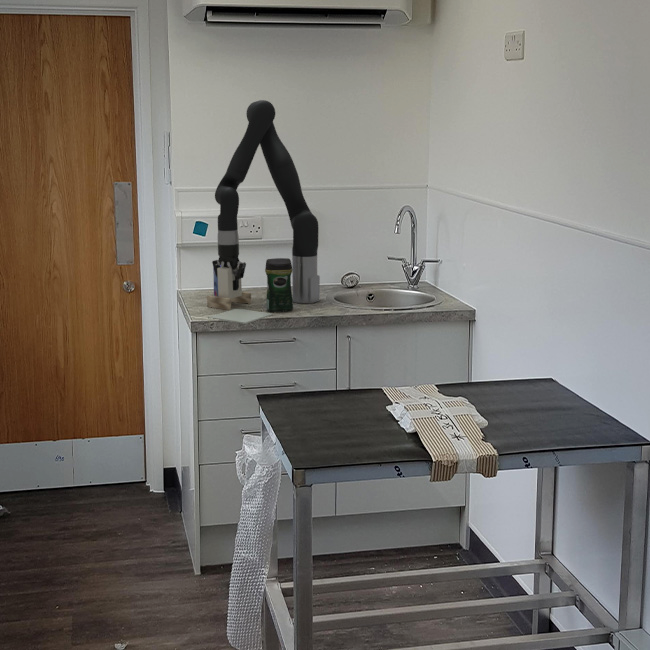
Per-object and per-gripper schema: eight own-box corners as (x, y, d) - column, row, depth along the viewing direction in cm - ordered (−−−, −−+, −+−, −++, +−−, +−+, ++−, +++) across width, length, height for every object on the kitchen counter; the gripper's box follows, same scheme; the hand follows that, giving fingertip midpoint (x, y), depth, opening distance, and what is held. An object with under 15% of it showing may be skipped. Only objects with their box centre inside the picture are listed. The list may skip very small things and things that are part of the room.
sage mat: (273, 315, 328) (273, 313, 328) (245, 324, 315) (245, 322, 315) (236, 309, 336) (236, 308, 336) (207, 318, 323) (207, 316, 323)
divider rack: (251, 303, 347) (251, 293, 346) (229, 310, 336) (229, 299, 335) (229, 300, 352) (229, 290, 351) (207, 306, 341) (207, 296, 341)
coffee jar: (291, 307, 341) (291, 256, 337) (294, 312, 333) (293, 259, 329) (264, 308, 339) (264, 256, 335) (266, 312, 332) (266, 260, 328)
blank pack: (241, 295, 346) (240, 265, 343) (228, 299, 339) (227, 269, 336) (231, 294, 348) (230, 264, 345) (218, 298, 341) (217, 268, 339)
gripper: (250, 242, 338) (252, 289, 342) (219, 239, 346) (220, 286, 350) (237, 245, 332) (239, 293, 336) (206, 242, 339) (207, 289, 343)
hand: (229, 289), depth 343 cm, fingers closed on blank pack, 4 cm apart
